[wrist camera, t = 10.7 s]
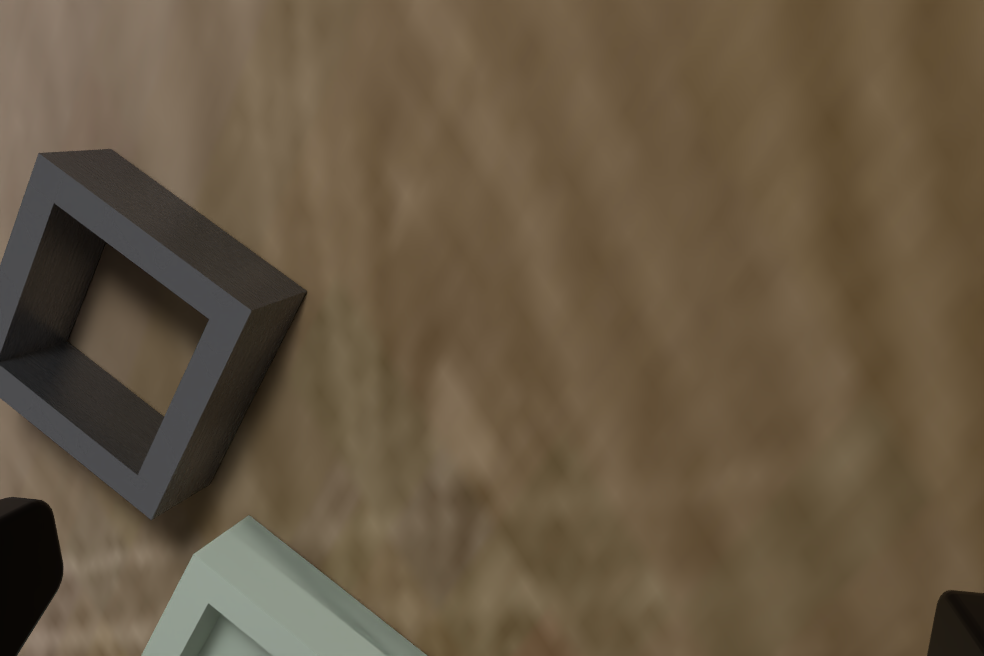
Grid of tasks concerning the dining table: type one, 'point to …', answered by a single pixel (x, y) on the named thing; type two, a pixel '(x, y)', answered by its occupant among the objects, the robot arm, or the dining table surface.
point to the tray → (266, 606)
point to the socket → (174, 263)
